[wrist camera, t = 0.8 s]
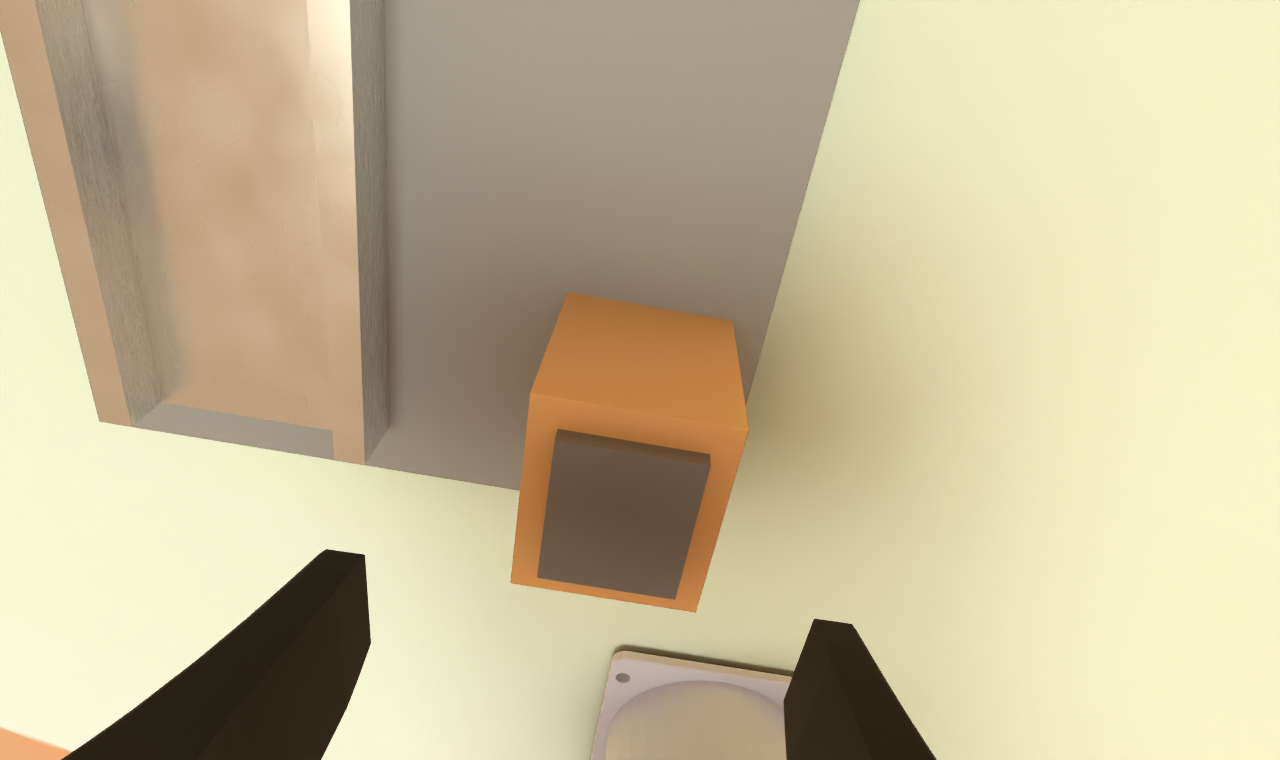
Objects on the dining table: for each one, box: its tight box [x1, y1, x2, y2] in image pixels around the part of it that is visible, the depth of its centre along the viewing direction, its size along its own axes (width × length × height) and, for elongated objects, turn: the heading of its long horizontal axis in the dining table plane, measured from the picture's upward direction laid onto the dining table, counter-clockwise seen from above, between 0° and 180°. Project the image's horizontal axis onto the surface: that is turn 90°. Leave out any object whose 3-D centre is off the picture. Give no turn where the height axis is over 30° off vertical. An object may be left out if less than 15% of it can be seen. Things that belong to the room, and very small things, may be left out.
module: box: [511, 292, 749, 613], centre depth 17 cm, size 5×4×5 cm
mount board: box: [0, 0, 860, 490], centre depth 18 cm, size 14×18×1 cm
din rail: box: [0, 0, 390, 465], centre depth 16 cm, size 11×7×2 cm, turn 171°
